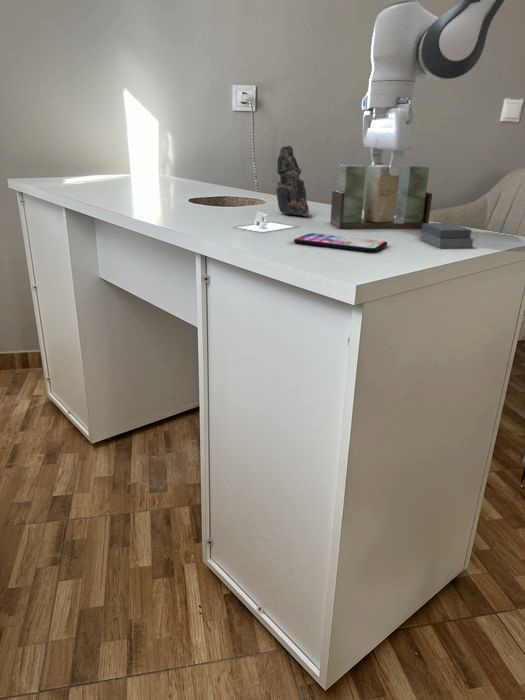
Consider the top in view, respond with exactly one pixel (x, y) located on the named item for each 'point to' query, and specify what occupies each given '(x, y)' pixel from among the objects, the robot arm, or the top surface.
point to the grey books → (446, 235)
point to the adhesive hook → (264, 224)
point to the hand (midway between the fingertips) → (384, 173)
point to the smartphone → (341, 242)
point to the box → (380, 194)
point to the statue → (290, 185)
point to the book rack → (409, 204)
